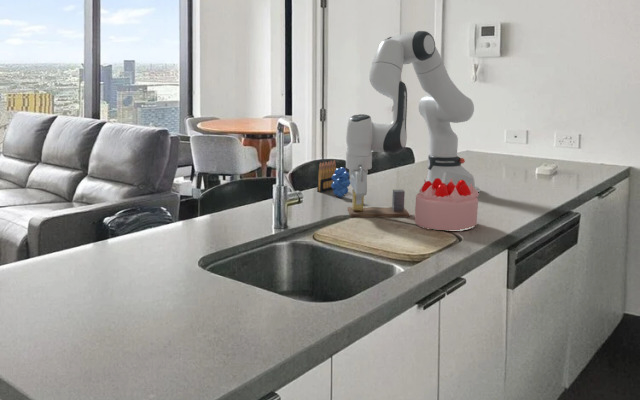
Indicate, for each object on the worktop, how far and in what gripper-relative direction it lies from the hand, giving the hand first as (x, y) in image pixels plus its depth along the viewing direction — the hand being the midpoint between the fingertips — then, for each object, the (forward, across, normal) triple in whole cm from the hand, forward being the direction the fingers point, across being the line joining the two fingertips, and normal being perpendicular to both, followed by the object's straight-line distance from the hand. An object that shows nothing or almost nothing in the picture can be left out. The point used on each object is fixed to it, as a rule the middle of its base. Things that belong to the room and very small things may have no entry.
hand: (357, 202), depth 223 cm
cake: (+4, -16, -27) cm, 32 cm away
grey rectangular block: (+4, 0, -14) cm, 14 cm away
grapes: (+4, +27, +3) cm, 27 cm away
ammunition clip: (+4, +41, +8) cm, 42 cm away
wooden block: (+2, 0, 0) cm, 2 cm away
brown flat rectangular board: (+4, 0, -7) cm, 8 cm away
